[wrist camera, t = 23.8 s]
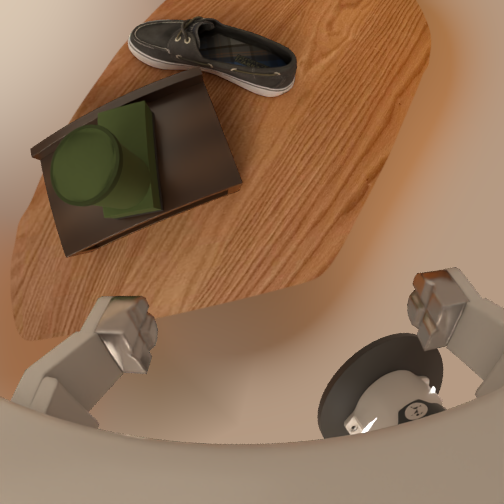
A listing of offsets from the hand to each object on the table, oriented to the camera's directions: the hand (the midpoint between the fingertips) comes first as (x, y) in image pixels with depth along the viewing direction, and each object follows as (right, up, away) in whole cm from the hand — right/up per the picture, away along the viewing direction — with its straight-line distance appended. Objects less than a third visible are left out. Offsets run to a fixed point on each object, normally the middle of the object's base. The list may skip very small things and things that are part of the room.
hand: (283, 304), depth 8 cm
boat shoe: (-7, +29, +27) cm, 40 cm away
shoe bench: (-15, +12, +27) cm, 34 cm away
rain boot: (-14, +11, +21) cm, 27 cm away
